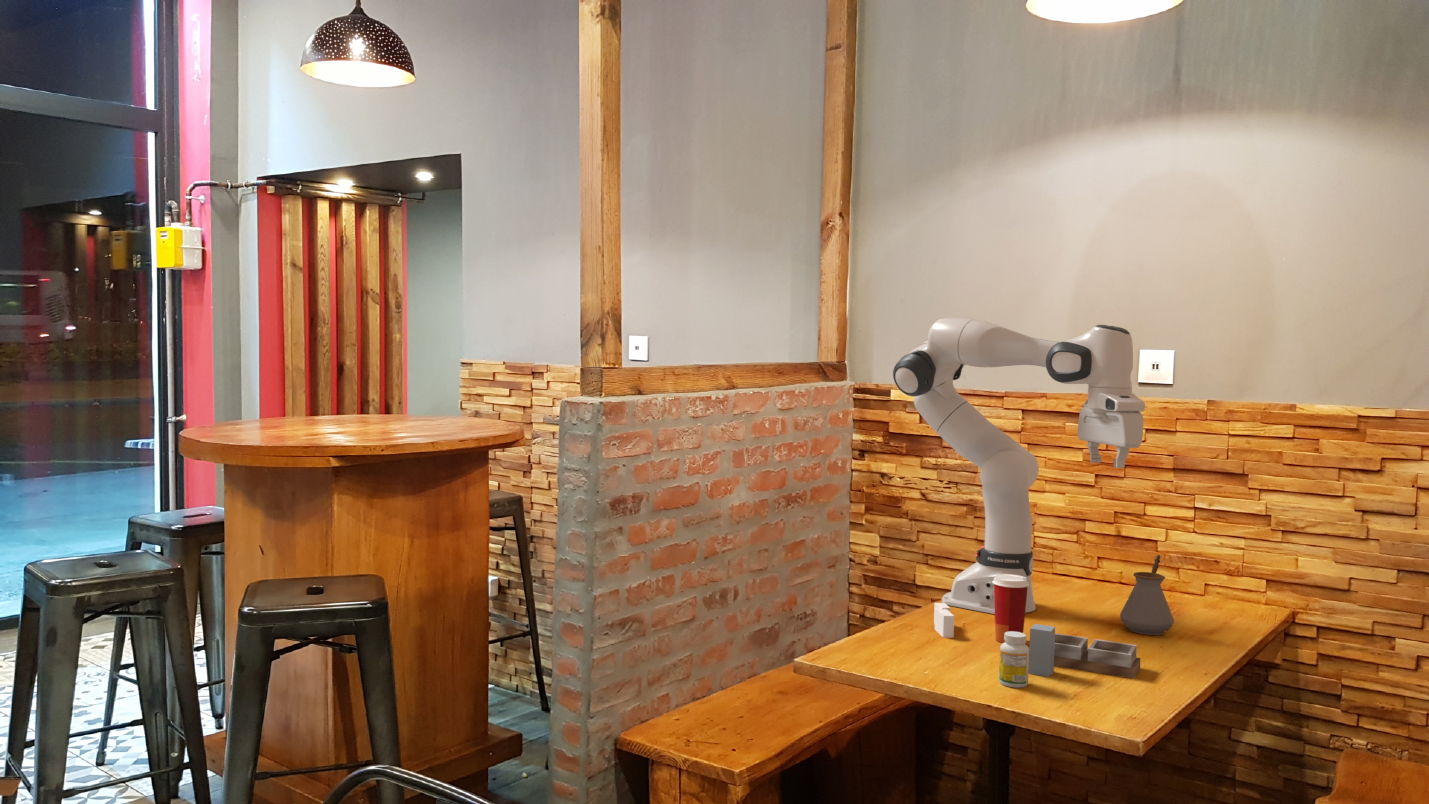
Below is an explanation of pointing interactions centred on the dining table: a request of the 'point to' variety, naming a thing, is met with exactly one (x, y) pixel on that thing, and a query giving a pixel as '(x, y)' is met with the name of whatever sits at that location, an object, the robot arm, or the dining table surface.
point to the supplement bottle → (1014, 660)
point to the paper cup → (1009, 604)
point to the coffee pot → (1147, 604)
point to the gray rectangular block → (1041, 650)
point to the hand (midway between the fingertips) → (1107, 465)
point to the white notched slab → (943, 620)
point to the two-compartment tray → (1096, 656)
